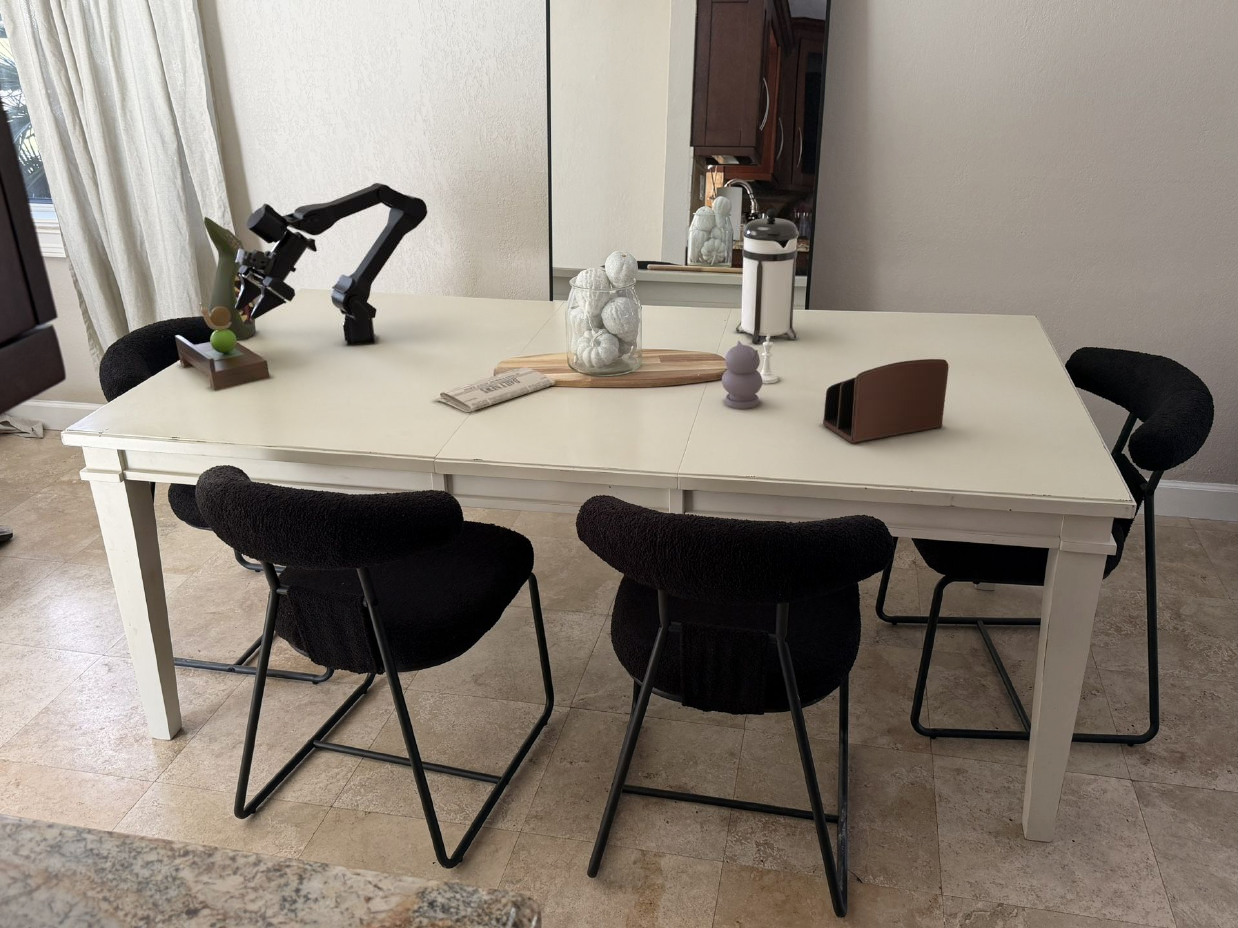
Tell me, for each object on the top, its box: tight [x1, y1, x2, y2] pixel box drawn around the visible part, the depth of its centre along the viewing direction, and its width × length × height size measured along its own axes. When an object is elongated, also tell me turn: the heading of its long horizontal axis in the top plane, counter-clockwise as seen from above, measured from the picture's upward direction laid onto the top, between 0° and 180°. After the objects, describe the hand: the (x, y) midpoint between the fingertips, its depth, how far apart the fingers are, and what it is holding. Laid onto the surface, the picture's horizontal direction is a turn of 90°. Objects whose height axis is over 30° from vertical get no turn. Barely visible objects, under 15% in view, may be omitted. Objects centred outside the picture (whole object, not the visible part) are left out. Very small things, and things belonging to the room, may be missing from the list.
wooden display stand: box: [174, 334, 271, 391], centre depth 223 cm, size 12×22×7 cm, turn 39°
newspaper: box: [435, 366, 556, 413], centre depth 209 cm, size 23×12×2 cm, turn 135°
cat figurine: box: [721, 340, 764, 410], centre depth 199 cm, size 8×8×12 cm
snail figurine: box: [198, 302, 238, 353], centre depth 221 cm, size 5×6×12 cm
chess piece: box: [759, 334, 779, 385], centre depth 212 cm, size 5×5×10 cm
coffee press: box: [735, 208, 800, 345], centre depth 237 cm, size 17×16×30 cm
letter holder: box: [822, 358, 950, 444], centre depth 187 cm, size 10×20×14 cm, turn 112°
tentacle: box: [203, 216, 257, 340], centre depth 243 cm, size 9×12×30 cm
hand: (244, 313), depth 224 cm, fingers open, 9 cm apart
